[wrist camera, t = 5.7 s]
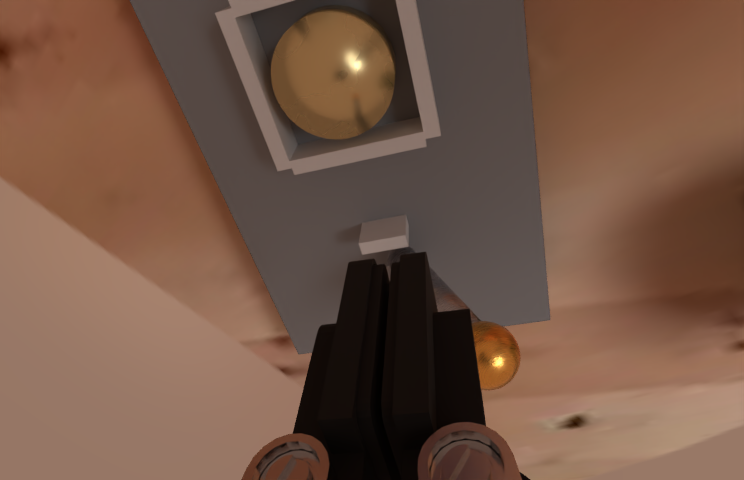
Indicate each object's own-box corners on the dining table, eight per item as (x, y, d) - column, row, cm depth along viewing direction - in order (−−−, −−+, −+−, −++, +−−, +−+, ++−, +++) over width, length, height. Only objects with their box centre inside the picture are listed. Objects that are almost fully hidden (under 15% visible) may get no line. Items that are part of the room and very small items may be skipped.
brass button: (380, -11, 19) (377, -4, 18) (407, 109, 22) (406, 125, 20) (264, 22, 20) (251, 31, 19) (303, 133, 23) (295, 150, 21)
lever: (413, 223, 26) (531, 336, 17) (423, 262, 27) (537, 385, 18) (369, 243, 25) (468, 368, 17) (381, 281, 26) (478, 416, 18)
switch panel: (450, -638, 14) (466, -886, 9) (539, 288, 31) (559, 344, 27) (-11, -393, 17) (-151, -497, 13) (306, 322, 34) (292, 378, 30)
